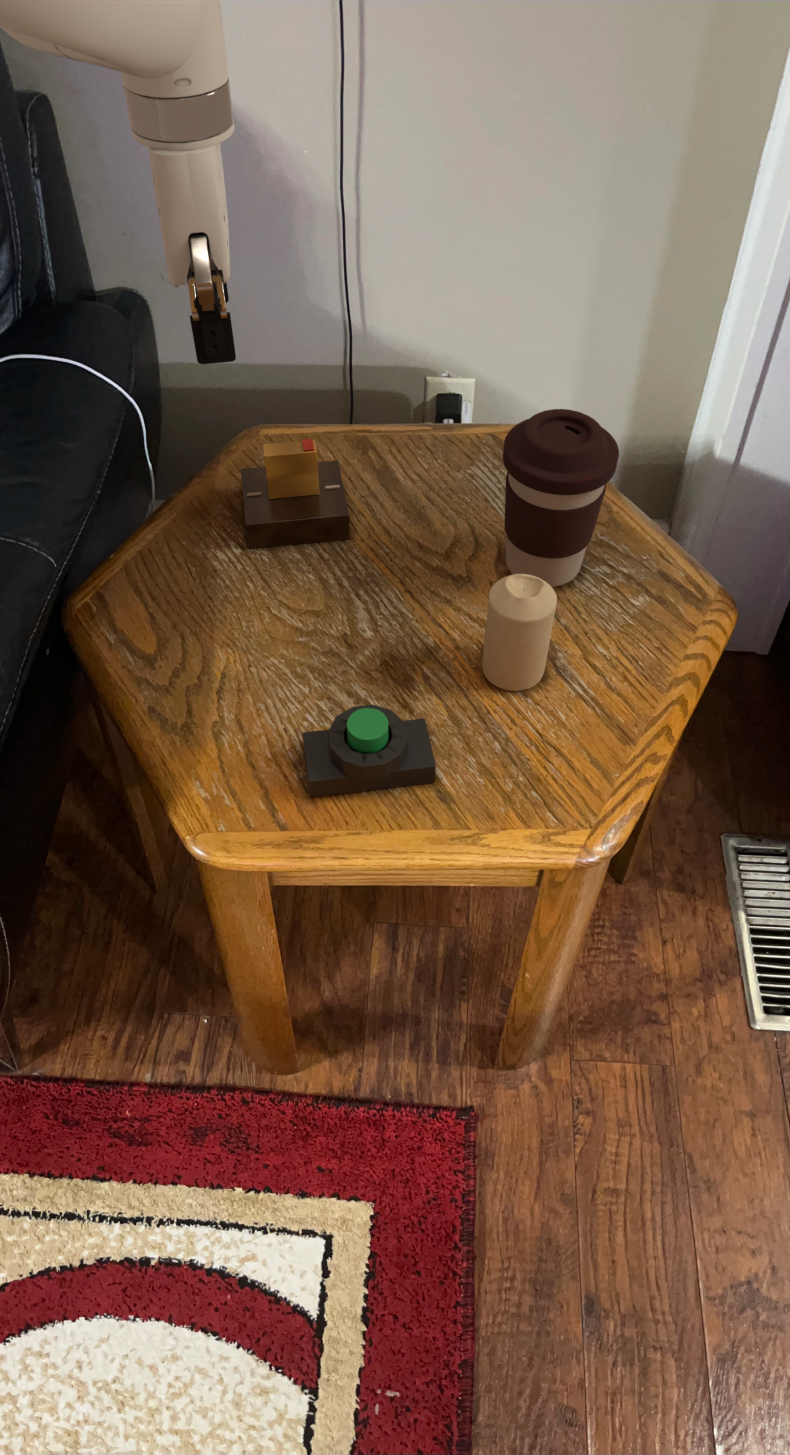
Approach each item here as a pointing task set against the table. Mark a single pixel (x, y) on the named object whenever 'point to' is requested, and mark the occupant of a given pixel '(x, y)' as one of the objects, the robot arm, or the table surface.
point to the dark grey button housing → (368, 757)
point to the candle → (518, 631)
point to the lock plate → (295, 510)
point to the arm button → (367, 730)
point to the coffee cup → (554, 491)
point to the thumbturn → (291, 469)
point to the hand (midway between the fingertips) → (213, 330)
